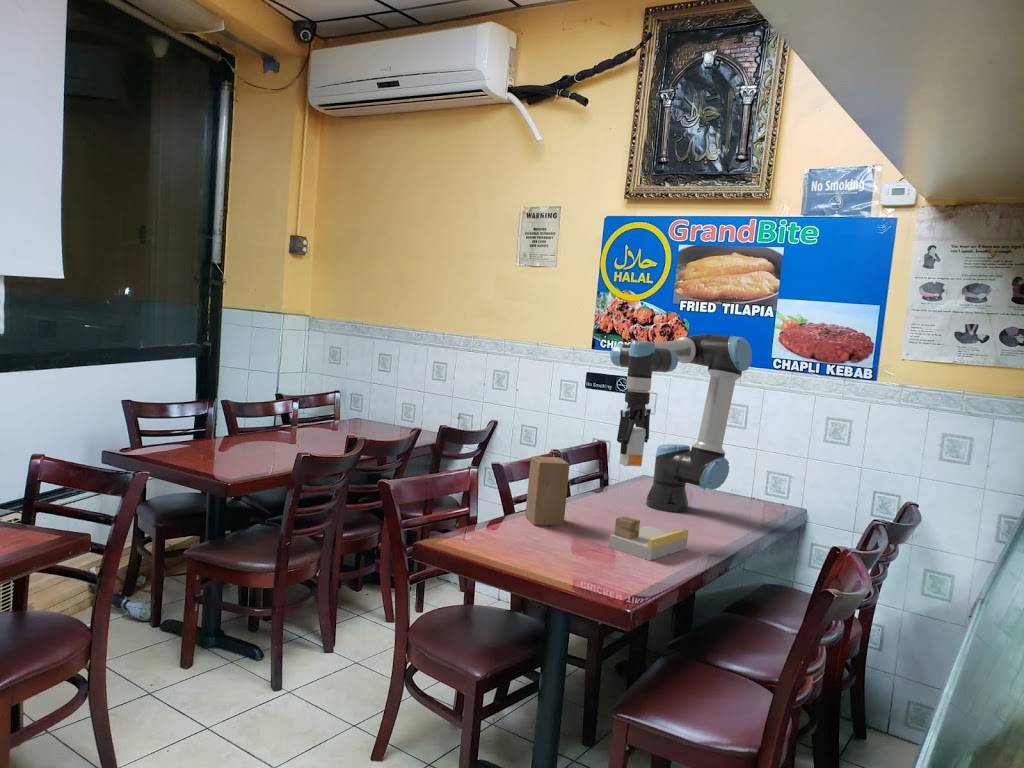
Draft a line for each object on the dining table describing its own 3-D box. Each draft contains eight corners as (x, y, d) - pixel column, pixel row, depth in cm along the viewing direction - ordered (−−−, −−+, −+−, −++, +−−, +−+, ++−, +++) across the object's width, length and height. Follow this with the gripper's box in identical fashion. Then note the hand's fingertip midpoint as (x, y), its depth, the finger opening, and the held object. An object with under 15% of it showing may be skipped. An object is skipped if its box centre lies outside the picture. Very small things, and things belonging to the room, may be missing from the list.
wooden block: (533, 525, 235) (539, 462, 233) (524, 516, 245) (530, 455, 243) (564, 526, 238) (570, 463, 236) (553, 517, 247) (559, 457, 246)
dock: (646, 536, 234) (648, 518, 234) (686, 549, 225) (688, 529, 224) (608, 547, 219) (610, 527, 219) (649, 560, 210) (652, 540, 210)
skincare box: (624, 466, 234) (628, 428, 233) (618, 463, 238) (622, 426, 237) (642, 466, 236) (646, 429, 235) (636, 463, 240) (640, 426, 239)
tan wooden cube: (624, 532, 224) (625, 515, 223) (638, 536, 220) (640, 520, 220) (614, 535, 220) (616, 518, 219) (628, 539, 217) (630, 522, 216)
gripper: (645, 388, 245) (638, 458, 247) (609, 389, 230) (602, 463, 232) (665, 391, 240) (658, 462, 242) (630, 393, 225) (622, 468, 227)
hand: (630, 463), depth 237 cm, fingers closed on skincare box, 7 cm apart
